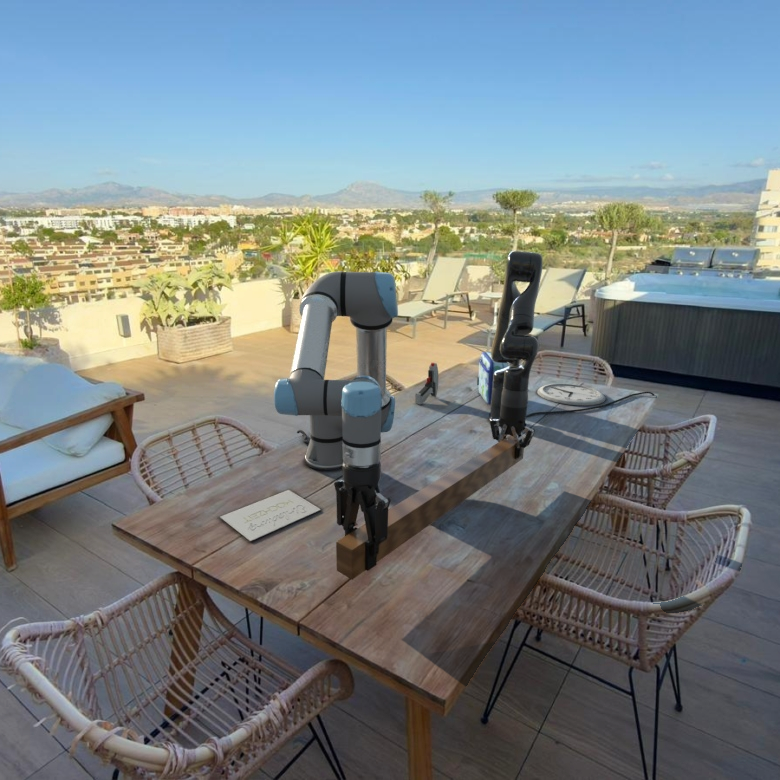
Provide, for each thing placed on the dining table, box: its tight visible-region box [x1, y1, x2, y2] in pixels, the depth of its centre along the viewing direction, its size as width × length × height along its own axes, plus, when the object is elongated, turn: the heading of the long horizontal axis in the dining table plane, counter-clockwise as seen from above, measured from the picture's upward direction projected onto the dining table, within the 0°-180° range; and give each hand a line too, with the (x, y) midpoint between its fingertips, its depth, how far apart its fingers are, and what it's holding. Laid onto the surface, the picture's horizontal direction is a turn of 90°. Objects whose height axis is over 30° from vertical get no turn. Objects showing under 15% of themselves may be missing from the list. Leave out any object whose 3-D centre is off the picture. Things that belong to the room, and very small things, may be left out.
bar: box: [335, 435, 525, 580], centre depth 133 cm, size 76×4×7 cm, turn 140°
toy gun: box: [414, 362, 439, 406], centre depth 228 cm, size 2×16×15 cm
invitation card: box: [219, 489, 322, 542], centre depth 138 cm, size 21×1×15 cm
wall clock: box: [537, 383, 606, 407], centre depth 241 cm, size 30×2×30 cm
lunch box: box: [476, 351, 509, 406], centre depth 230 cm, size 26×11×21 cm, turn 179°
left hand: (361, 561), depth 110 cm, fingers closed on bar, 4 cm apart
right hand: (509, 455), depth 158 cm, fingers closed on bar, 4 cm apart
